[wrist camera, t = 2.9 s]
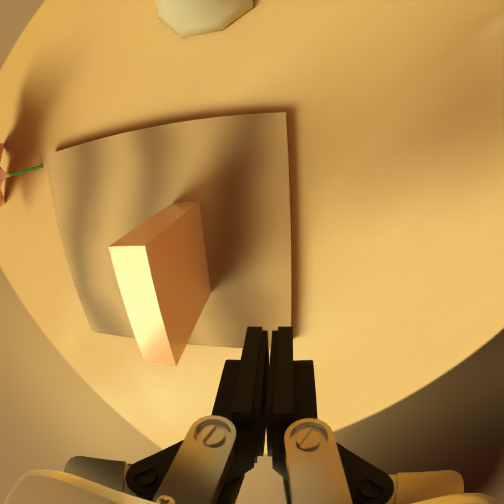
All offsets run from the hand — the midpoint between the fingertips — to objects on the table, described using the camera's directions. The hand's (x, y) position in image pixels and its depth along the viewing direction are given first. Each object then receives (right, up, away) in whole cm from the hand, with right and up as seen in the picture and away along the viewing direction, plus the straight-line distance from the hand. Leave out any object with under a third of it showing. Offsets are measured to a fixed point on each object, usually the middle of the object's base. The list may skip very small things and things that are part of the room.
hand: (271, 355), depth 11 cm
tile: (-5, +4, +10) cm, 12 cm away
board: (-8, +5, +11) cm, 15 cm away
